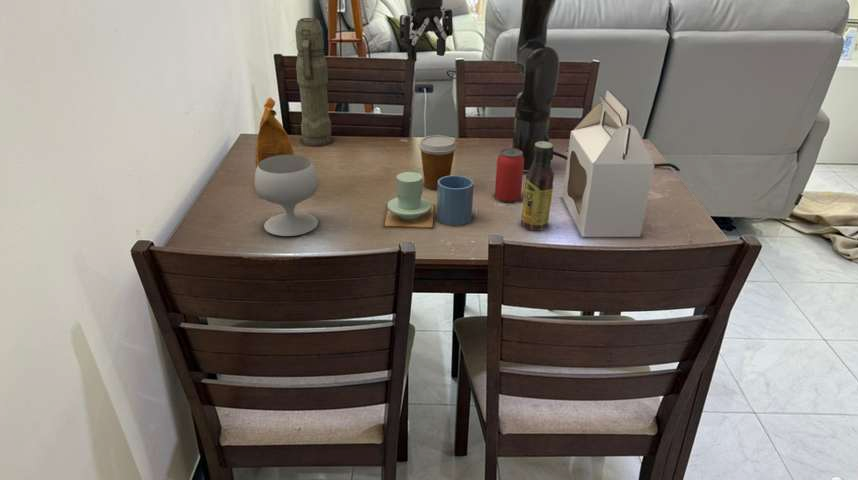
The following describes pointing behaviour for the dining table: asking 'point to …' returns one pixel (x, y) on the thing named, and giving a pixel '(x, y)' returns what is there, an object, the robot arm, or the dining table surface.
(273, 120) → the coffee package
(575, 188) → the gable box
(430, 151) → the disposable coffee cup
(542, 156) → the sauce bottle
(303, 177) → the chalice
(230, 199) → the dining table surface
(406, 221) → the cork mat
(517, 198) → the beer can
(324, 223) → the dining table surface
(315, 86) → the stone tiki statue
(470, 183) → the blue cup
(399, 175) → the pale green top hat
